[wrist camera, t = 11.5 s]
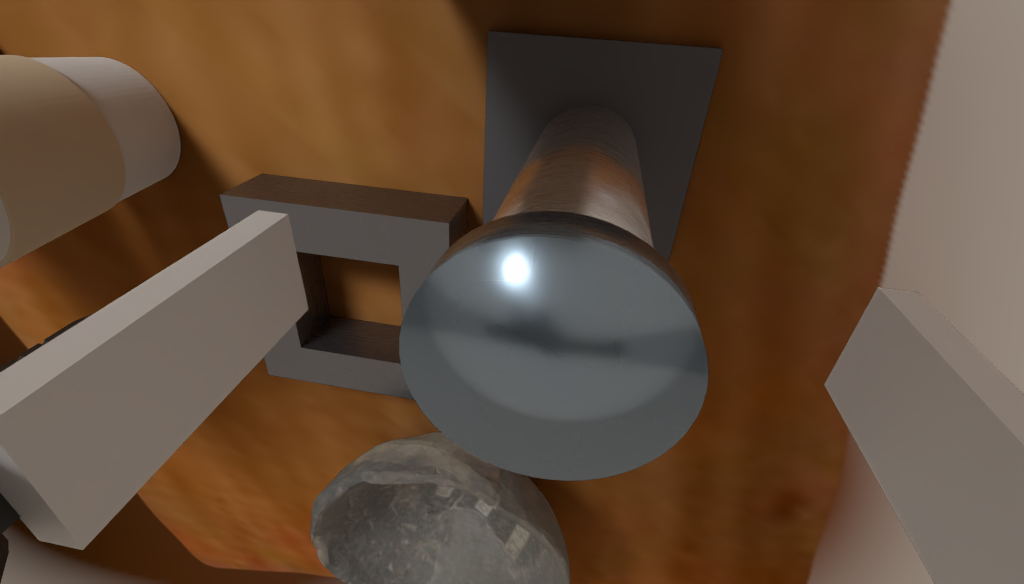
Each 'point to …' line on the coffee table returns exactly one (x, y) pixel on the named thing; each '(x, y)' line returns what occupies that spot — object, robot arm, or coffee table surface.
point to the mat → (605, 82)
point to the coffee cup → (75, 144)
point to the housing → (360, 236)
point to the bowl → (436, 520)
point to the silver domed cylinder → (560, 319)
